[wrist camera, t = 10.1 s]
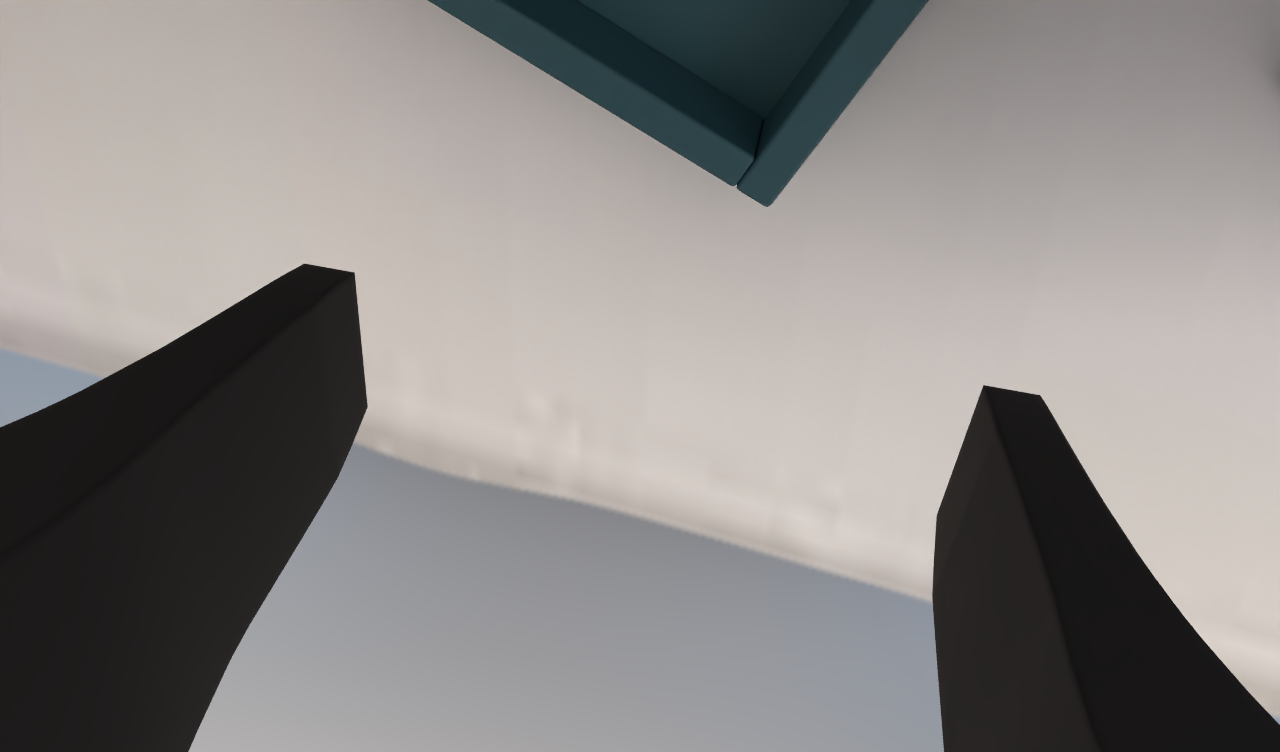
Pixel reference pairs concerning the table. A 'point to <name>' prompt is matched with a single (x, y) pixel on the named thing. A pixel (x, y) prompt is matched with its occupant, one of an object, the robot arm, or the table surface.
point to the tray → (708, 69)
